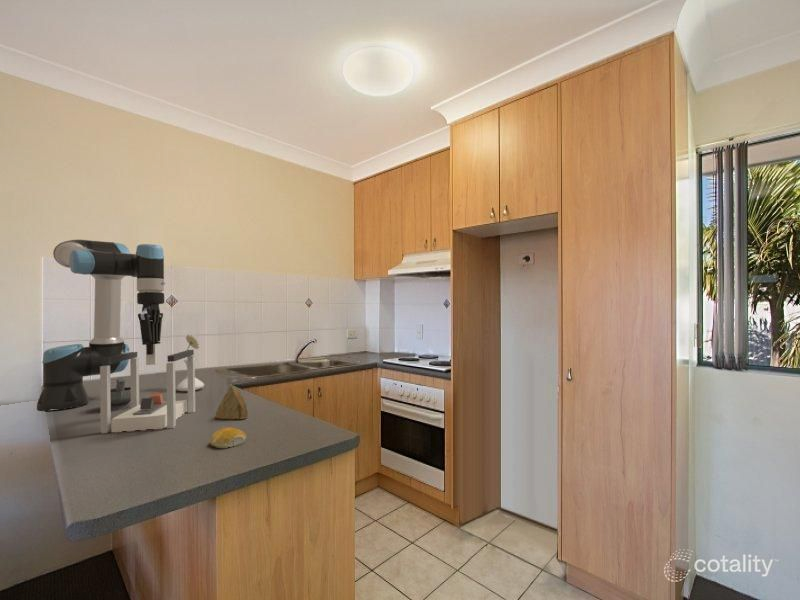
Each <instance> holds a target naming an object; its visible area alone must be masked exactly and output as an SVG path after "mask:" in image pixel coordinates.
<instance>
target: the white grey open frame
mask: <svg viewBox="0 0 800 600" xmlns="http://www.w3.org/2000/svg"><path fill="white" fill-rule="evenodd" d="M186 359H187V365H186V373H187V372H188V391H187V399H185V400H176V361H174V362H166V366H165V367H166V369H165V370H166V401H163V402H162V404H153V409H143V410H142V409H140V406H141V403H140V379H139V378H140V371H139V370H140V369H139V368H140V367H139V366H140V364H139V363H140V362H139V357H136V358H132V359H129V360H130V364H129V366H130V370H129V371H130V372H129V373H130V387H131V401H130V409H128V410H127V411H124V412H123V413H120V414H119V415H116V416H114V417H113V418H111V417H112V416H111V415H112V413H111V412H112V410H111V398H110V389H111V374H110V365H108V366H100V375H99V386H100V387H99V391H100V393H99V395H100V396H99V398H100V399H99V400H100V406H99V408H100V413H99V414H100V434H107V433H109V432H111V433H113V432H114V433H123V432H122V431H127V432H136V431H135V430H141V431H147V430H146V429H154V430H164V429H165V428H166V429H174V428H176V427H177V419H178V417H179V418H180V417H181V416H183V415H184V414H186V413H187V412H188V414H189V413H191V414H192V413H193V412H194V413H195V412H196V390H195V378H196V375H195V374H196V372H195V371H196V370H195V369H196V368H195V367H196V366H195V365H196V364H195V363H196V360H195V359H196V358H195V355H192V356H189V357H186ZM185 412H186V413H185ZM182 414H183V415H182ZM175 426H176V427H175ZM163 428H164V429H163Z"/></svg>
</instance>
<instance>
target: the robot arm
mask: <svg viewBox="0 0 800 600" xmlns="http://www.w3.org/2000/svg"><path fill="white" fill-rule="evenodd" d="M135 250H136V251H135V253H131V252H130V250H129V247H127V246H126V245H125V244H124V243H121V242H120V243H119V242H113V241H98V240H88V239H70V240H66V241H63V242H60V243H58V244H57V245H56V246H55V247H54V249H53V253H52V254H53V259H54V260H55V261H56V262H57V264H59V265H61V266H62V267H65V268H68V269H70V271H71V273H73V274H78V275H90V276H91V277H92V278H94V312H93V313H94V315H93V316H94V317H93V318H94V319H93V320H94V321H93V325H94V326H93V338H92V339H91V340H89V341H88V346H84V345H83V344H81V343H75V344H73V343H72V344H68V345H61V346H55V347H51V348H47V349H46V350H45V351H44V352H43V356H42V362H41V364H42V391H41V393H40V395H39V398H38V400H37V403H36V411H38V412H49V411H48V410H50V409H64V408H70V409H72V408H71V407H75V408H78V407H77V406H79V407H82V406H81V405H83V406H85V405H84V404H86V405H88V404H89V403H90V399H89V395H88V393H87V391H86V388H85V386H84V381H83V380H84V377H89V376H90V377H92V376H96V375H97V376H100V366H108V365H110V375H111V374H114V373H120V372H123V371H124V370H126V368H127V367H128V364H129V360H130V359H128V360H124V361H120V362H116V363H112V364H108V365H102V359H103V358H107V357H112V356H116V355H121V354H125V353H130V352H131V351H130V346H129V345H128V344H127V343H125V340H124V338H122V336H121V310H122V309H121V302H122V301H121V299H122V298H121V297H122V296H121V295H122V279H124V278H125V277H133V278H136V291H137V294H136V303H137V304H138V305H142V307H141V313H137V319H139V320H138V321H139V326H140V336H141V342H142V343H141V344H142V346H145V366H151V365H152V366H153V365H155V366H156V365H158V345H159V344H161V336H162V322H163V317H164V313H163V312H161V310H160V306H159V305H164V304H165V293H164V290H165V285H166V282H165V268H164V266H165V255H164V254H165V253H164V248H163V246H161V245H159V244H148V243H147V244H146V243H145V244H144V243H141V244H138V245H137V246H136V249H135ZM88 402H89V403H88ZM87 403H88V404H87ZM64 410H65V409H64Z"/></svg>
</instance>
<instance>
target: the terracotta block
mask: <svg viewBox="0 0 800 600" xmlns="http://www.w3.org/2000/svg"><path fill="white" fill-rule="evenodd" d="M149 398H154V404H162V402H164V399H163V398H164V397H163V392H157V393H155V392H154V393H151V394H150V395H149Z"/></svg>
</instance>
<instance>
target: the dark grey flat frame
mask: <svg viewBox="0 0 800 600" xmlns="http://www.w3.org/2000/svg"><path fill="white" fill-rule="evenodd" d="M189 356H195V351H194V349H188V350H187V349H186V350H183V351H179V352H177V353H173V354H169V355H167V363H174V362H176V361H179V360H182V359H183V360H184V359H187V357H189ZM132 358H138V351H130V353H125V354H121V355H116V356H112V357H107V358H103V359H102V365H108V364H112V363H116V362H120V361H124V360H128V359H129V360H130V359H132Z"/></svg>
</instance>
